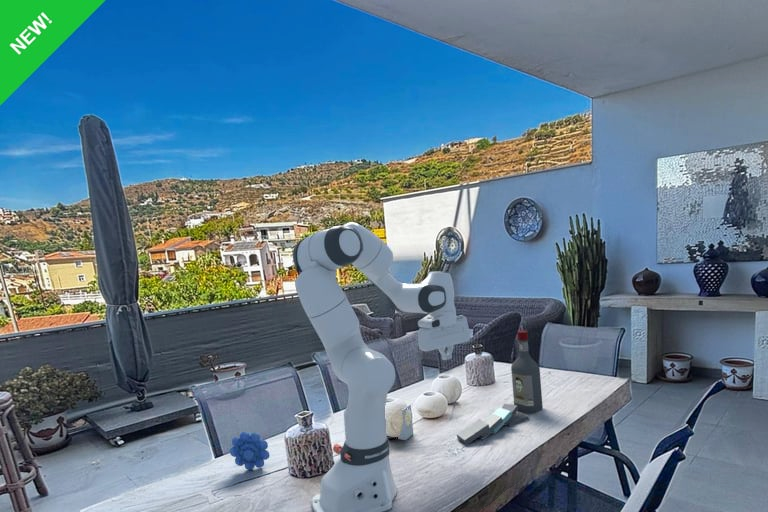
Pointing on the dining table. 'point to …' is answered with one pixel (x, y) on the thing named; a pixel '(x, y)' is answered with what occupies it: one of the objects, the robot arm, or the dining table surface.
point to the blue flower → (249, 450)
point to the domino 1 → (473, 431)
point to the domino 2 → (491, 424)
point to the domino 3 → (505, 416)
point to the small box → (406, 430)
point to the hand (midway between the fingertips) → (446, 359)
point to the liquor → (526, 379)
